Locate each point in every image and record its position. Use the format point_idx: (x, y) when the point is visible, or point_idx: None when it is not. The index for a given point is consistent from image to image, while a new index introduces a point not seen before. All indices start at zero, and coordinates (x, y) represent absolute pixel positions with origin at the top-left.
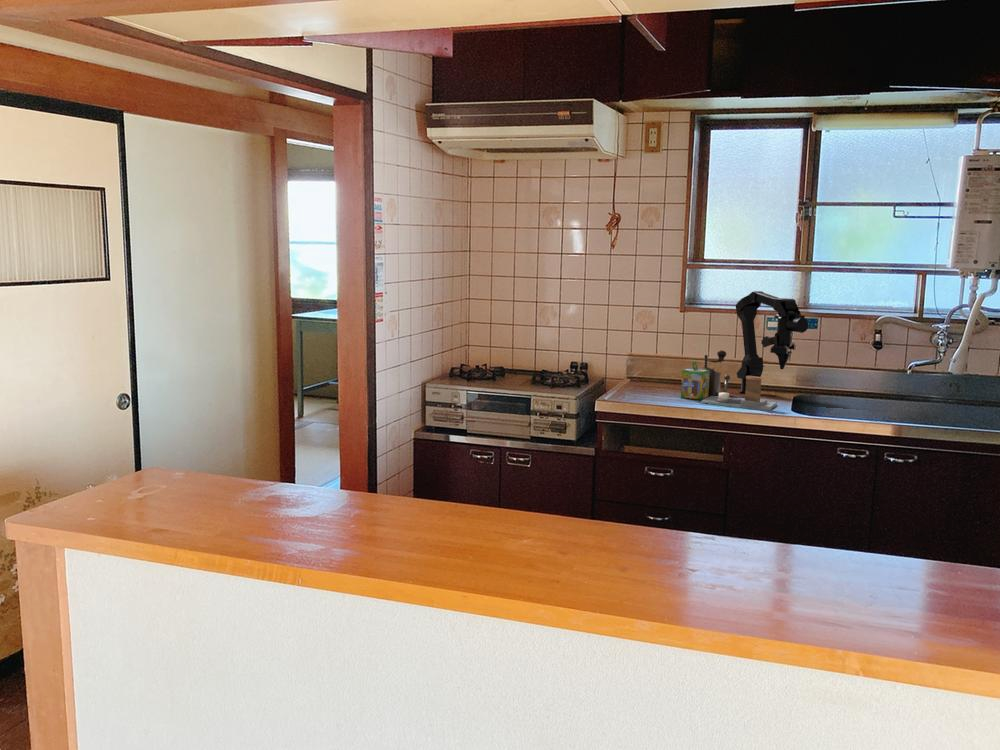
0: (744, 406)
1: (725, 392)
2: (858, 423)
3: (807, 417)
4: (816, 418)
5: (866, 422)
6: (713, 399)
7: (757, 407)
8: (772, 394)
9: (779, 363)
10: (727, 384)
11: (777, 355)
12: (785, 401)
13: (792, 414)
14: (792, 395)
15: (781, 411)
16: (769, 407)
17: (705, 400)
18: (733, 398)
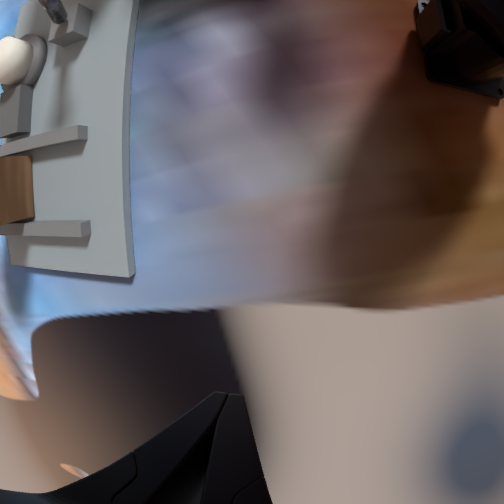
0: None
1: (55, 23)
2: (64, 464)
3: (25, 377)
4: (33, 397)
5: None
6: None
7: None
8: (488, 189)
9: (160, 432)
10: (45, 5)
11: (26, 497)
12: (282, 298)
13: (24, 341)
14: (497, 294)
15: (35, 306)
16: (19, 265)
17: (31, 7)
18: (14, 98)
